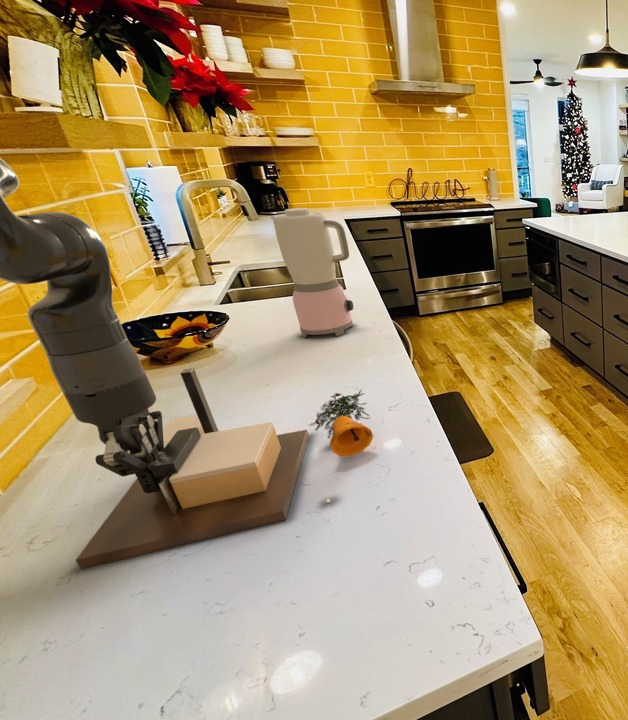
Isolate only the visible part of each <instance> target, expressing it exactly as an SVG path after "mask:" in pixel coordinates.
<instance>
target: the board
mask: <svg viewBox="0 0 628 720" xmlns="http://www.w3.org/2000/svg"><path fill="white" fill-rule="evenodd" d="M180 376H181V379H182V382H183V383H184V386H185V388H186V391H187V393H188V396H189V398H190V401H191V404H192V406H193V409H194V410H195V414H196V415H197V416H198V418H199V421H200V423H201V426H202V428H203V431H204V433H205V434H206V433H212V432H217V431H219V429H218V427H217V424H216V421H215V418H214V416H213V413H212V411H211V409H210V406H209V404H208V400H207V397H206V395H205V393H204V391H203V387H202V385H201V382H200V380H199V377H198V375H197V372H196V370H195V368H194V367H192V368H184V369H183V370H182V371H181V372H180ZM309 434H310V433H309V432H308V429H303V430H296V431H292V432H286V433H280V434H277V437H278V440H279V443H280V446H281V449H280V452H279V455H278V458H277V461H276V463H275V466H274V469H273V472H272V474H271V477H270V480H269V483H268V485H267V488H266V491H262V492H258V493H253V494H249V495H244V496H240V497H235V498H231V499H226V500H221V501H217V502H212V503H208V504H203V505H199V506H194V507H190V508H185V509H182V507H180V508H179V510H178V512H177V513H176V514H172V512H171V509H170V507H169V505H168V503H167V501H166V499H165V497H164V495H163V492H162V491H158V492H153V493H145V492H144V491H143V489H142V487H141V485H140V483H139V481H138V479H137V478H136V479H135V481H133V483H132V485H131V486H130V487H129V488H128V490H127V491H126V492H125V494H124V495H123V496H122V498H121V499H120V500H119V502H118V503H117V504H116V506H115V507H114V508H113V510H112V511H110V514H109V515H108V516H107V518H106V519H105V520H104V521H103V523H102V524H101V525H100V527H99V528H98V529H97V531H96V532H95V533H94V535H93V536H92V537H91V538H90V540H89V541H88V543H87V544H86V546H85V547H83V549H82V551H81V552H80V553H79V554H78V556H76V558H75V562H76V564H77V565H78V566H79V569H80V570H83V569H87V568H91V567H96V566H100V565H105V564H107V563H112V562H116V561H120V560H124V559H129V558H132V557H136V556H137V557H138V556H140V555H145V554H149V553H153V552H158V551H161V550H166V549H170V548H174V547H179V546H183V545H187V544H190V543H195V542H199V541H203V540H207V539H211V538H215V537H219V536H224V535H229V534H232V533H237V532H241V531H244V530H248V529H249V530H250V529H253V528H258V527H261V526H265V525H269V524H274V523H278V522H281V521H286V520H287V517H288V513H289V510H290V506H291V503H292V500H293V496H294V492H295V489H296V486H297V485H296V484H297V482H298V477H299V475H300V470H301V467H302V464H303V460H304V456H305V453H306V450H307V446H308V442H309V439H310V435H309Z"/></svg>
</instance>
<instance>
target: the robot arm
mask: <svg viewBox="0 0 628 720" xmlns="http://www.w3.org/2000/svg"><path fill="white" fill-rule="evenodd" d="M19 187H20V179H19V177H18V175H17V174H16V172H15V171H14V169H12V167H10V166H9V164H8V163H7V162H6V161H5V160H4V159H3V158H2V157H0V280H2V281H5V282H8V283H11V284H16V285H33V284H39V283H42V282H46V285H47V291H46V294H45V296H43V297H42V298H41V299H39V301H37V302H35V303H34V304H33V305H31V306H30V307H29V308H28V310H27V318H28V321H29V324H30V325H31V328H32V330H33V332H34V333H35V335H36V337H37V339H38V341H39V343H40V345H41V347H42V348H43V350H44V352H45V355H46V357H47V360H48V364H49V368H50V371H51V373H52V376H53V377H54V379H55V381H56V383H57V384H58V386H59V388H60V391H61V392H62V394H63V396H64V398H65V400H66V402H67V404H68V405H69V408H70V409H71V411H72V413H73V415H74V417H75V419H76V420H77V421H78V422H81V423H83V424H90V425H93V426H96V427H97V432H98V437H99V440H100V442H101V443H103V445H105V447H104V453H103V454H97V455H96V456H95V463H96V464H97V466H100V467H102V468H104V469H106V470H108V471H110V472H112V473H114V474H116V475H118V476H119V477H128V476H131V475H132V476H133V475H135V477H136V479H138V481H139V483H140V485H141V487H142V489H143V491H144V492H145V493H153V492H158V491H162V490H161V488H160V486H159V483H160V481H161V480H162V478H163V477H164V476H165V475H163V476H158V477H154V474H153V472H152V470H151V468H150V467H151V466H152V464H153V463H154V462H155V460H156V459H157V458H158V456H159V455H160V454H159V452H162V451H163V450H164V441H163V429H164V427H163V414H162V411H160V410H155V411H150V408H151V407H152V406H153V405H155V403H156V401H157V396H156V393H155V390H154V389H153V386H152V384H151V382H150V380H149V378H148V376H147V373H146V370H145V369H144V367H143V363H142V362H141V360H140V359H141V358H140V357H139V355H138V353H137V351H136V349H135V348H134V347H133V345H132V344H131V342H130V341H129V339H128V336H127V334H126V332H125V330H124V328H123V325H122V323H121V321H120V318H119V317H118V315H117V313H116V310H115V309H114V304H113V285H112V275H111V265H110V258H109V253H108V249H107V247H106V244H105V243H104V241H103V239H102V238H101V236H100V235H99V234H98V232H97V231H96V230H95V229H94V228H93V227H92V226H91V225H90V224H88V222H86V221H85V220H83V219H81V218H80V217H78V216H76V215H73V214H71V213H66V212H61V211H46V212H44V211H43V212H38V213H31V214H23V215H16V214H15V213H14V211H12V209H11V208H10V207H9V206H8V205H9V204H8V203H6V200H5V199H6V198H7V197H9V196H10V195H12V194H14V193H15V192H16V191H17V190H18V188H19Z"/></svg>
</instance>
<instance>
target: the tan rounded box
mask: <svg viewBox="0 0 628 720" xmlns="http://www.w3.org/2000/svg"><path fill="white" fill-rule="evenodd" d="M200 435H201V437H200V439H199V440H198V442H197V443H196V445H195V446H194V448H193V449H192V451H191V452H190V454H189V456H188V457H187V459H186V460H185V462H184V463H183V465H182V466H181V468H180V469H179V471H178V473H174V474H172V475H171V477H170V478H169V481H170V483H171V485H172V487H173V489H174V491H175V494H176V496H177V498H178V500H179V502H180V505H181V507H182V509H185V508H190V507H194V506H199V505H203V504H208V503H212V502H217V501H221V500H226V499H231V498H235V497H240V496H244V495H249V494H253V493H258V492H262V491H266V488H267V485H268V483H269V480H270V477H271V474H272V472H273V469H274V466H275V463H276V461H277V458H278V455H279V452H280V449H281V446H280V443H279V440H278V437H277V435H278V434H277V432H276V428H275V426H274V423H273V421H269V422H263V423H258V424H252V425H246V426H241V427H235V428H234V427H233V428H230V429H224V430H218V431H217V432H212V433H206V434H200Z"/></svg>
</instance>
